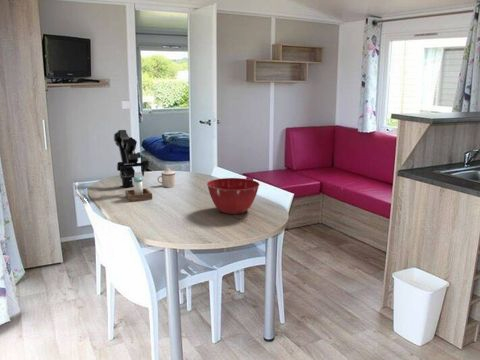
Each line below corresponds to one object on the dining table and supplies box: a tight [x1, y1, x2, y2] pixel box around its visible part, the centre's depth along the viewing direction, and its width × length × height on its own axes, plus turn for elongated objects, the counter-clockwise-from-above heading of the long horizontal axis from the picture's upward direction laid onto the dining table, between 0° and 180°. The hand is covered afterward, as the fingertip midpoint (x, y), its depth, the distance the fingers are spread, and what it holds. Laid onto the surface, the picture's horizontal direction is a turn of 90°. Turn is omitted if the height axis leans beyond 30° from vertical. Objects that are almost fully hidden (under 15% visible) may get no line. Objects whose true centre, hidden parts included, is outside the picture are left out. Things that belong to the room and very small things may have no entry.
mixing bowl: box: [206, 177, 260, 215], centre depth 239 cm, size 28×28×15 cm
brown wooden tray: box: [124, 188, 153, 203], centre depth 260 cm, size 13×13×4 cm
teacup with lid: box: [157, 168, 176, 188], centre depth 290 cm, size 12×9×12 cm
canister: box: [133, 176, 144, 195], centre depth 258 cm, size 7×5×12 cm
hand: (135, 176), depth 263 cm, fingers open, 9 cm apart
